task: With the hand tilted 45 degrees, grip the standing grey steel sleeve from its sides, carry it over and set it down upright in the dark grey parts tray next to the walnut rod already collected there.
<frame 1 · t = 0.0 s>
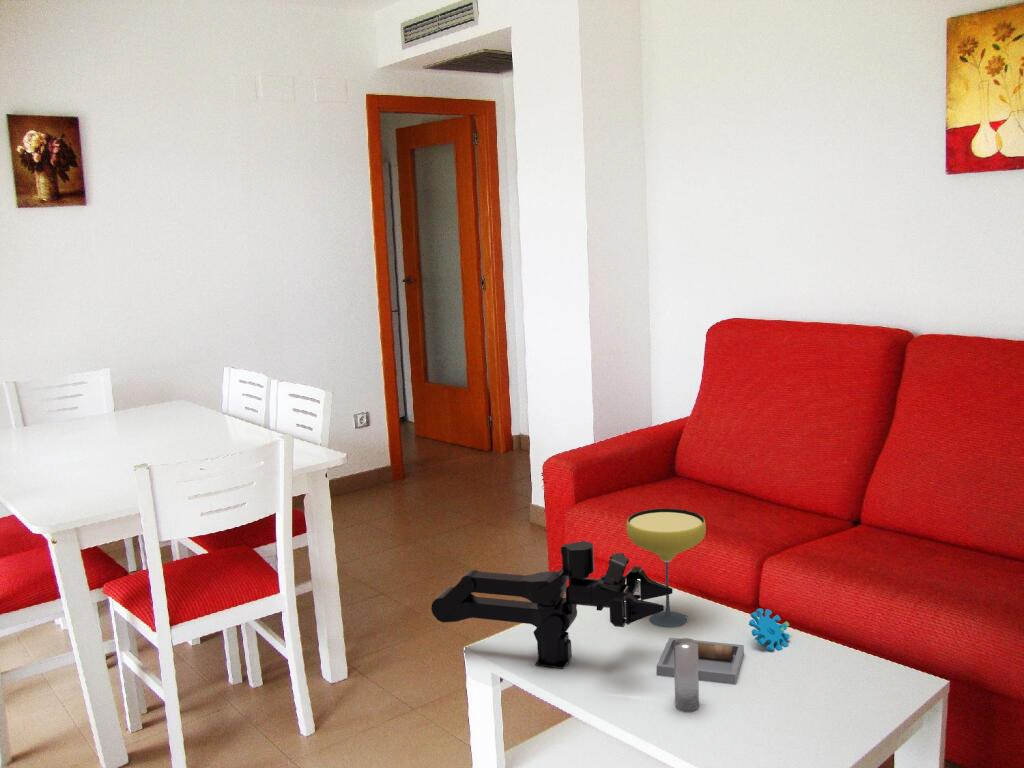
hand: (668, 599, 195), 17 cm above the table, tool horizontal, fingers open, 9 cm apart
rod: (715, 658, 203), point 1 cm above the table, touching tray
sleeve: (687, 706, 185), on the table
tray: (701, 666, 201), on the table
cocktail glass: (668, 622, 224), on the table
gear: (770, 646, 209), on the table
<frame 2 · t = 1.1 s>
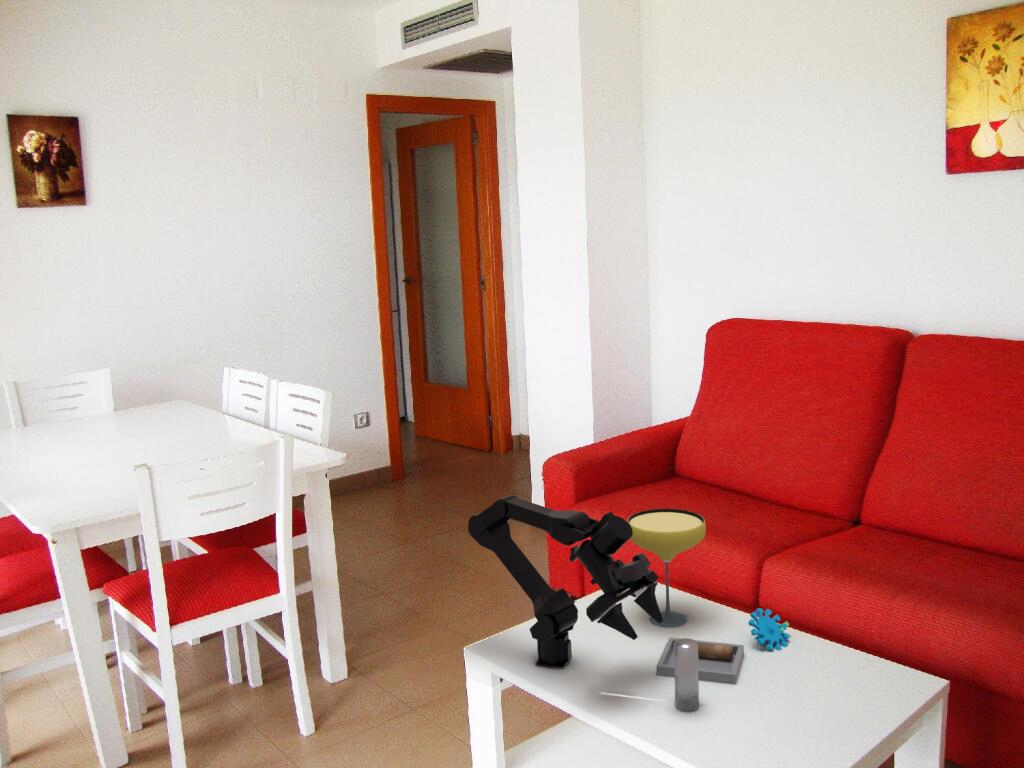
hand: (649, 630, 188), 13 cm above the table, tool tilted 45°, fingers open, 9 cm apart
nothing on the table moved.
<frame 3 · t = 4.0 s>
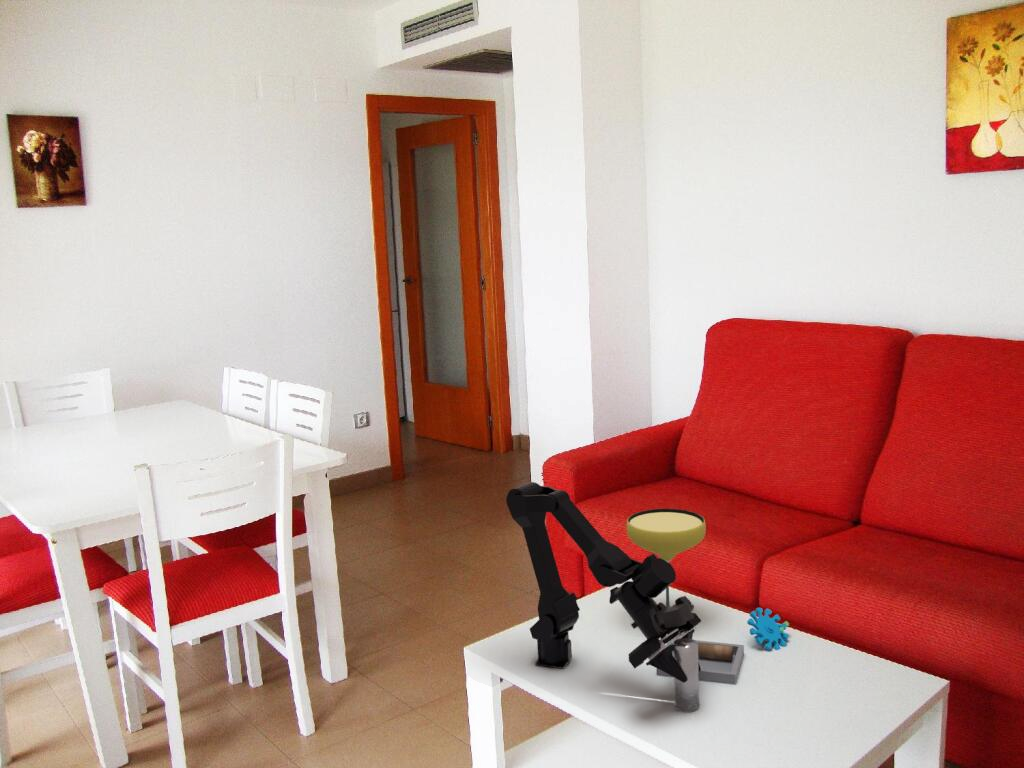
hand: (692, 676, 183), 7 cm above the table, tool tilted 45°, fingers closed on sleeve, 5 cm apart
rod: (715, 658, 203), point 1 cm above the table, tilted 6°, touching tray
sleeve: (687, 706, 185), on the table, touching gripper
everything else where it was.
when the fingers open (9 cm above the table, at t = 8.5 s): sleeve drops 2 cm, resting on tray.
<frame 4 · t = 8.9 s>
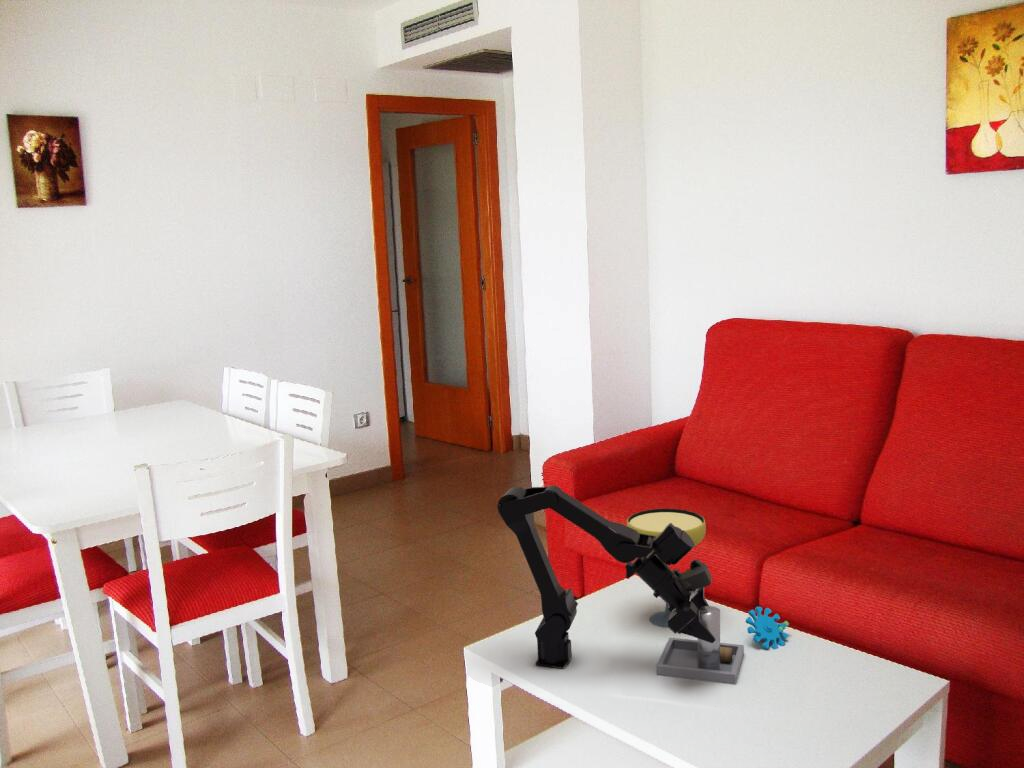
hand: (715, 631, 196), 9 cm above the table, tool tilted 45°, fingers open, 9 cm apart
rod: (715, 657, 203), point 1 cm above the table, tilted 32°, touching tray
sleeve: (708, 669, 198), point 1 cm above the table, touching tray
everything else where it was.
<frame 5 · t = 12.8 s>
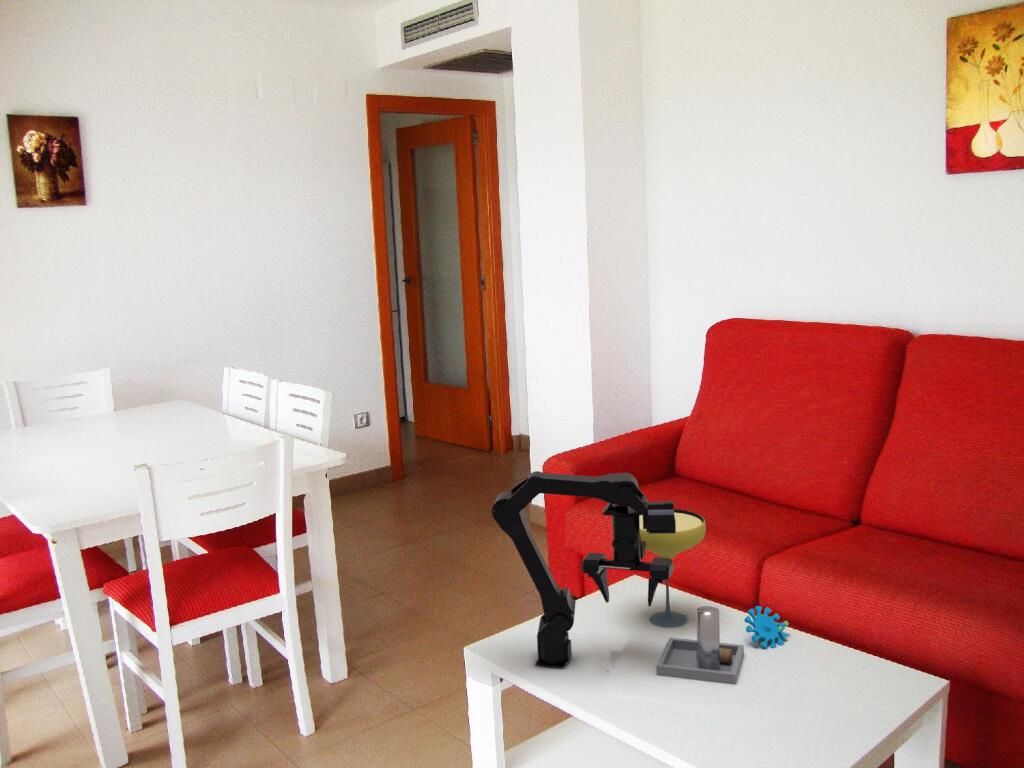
hand: (628, 603, 203), 13 cm above the table, tool pointing down, fingers open, 9 cm apart
rod: (715, 655, 203), point 1 cm above the table, tilted 57°, touching tray
at the end: sleeve inside the target area on the tray (2.8 cm from its centre), point 0.6 cm above the tray's base; sleeve tilted 0°; the gripper is holding nothing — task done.
